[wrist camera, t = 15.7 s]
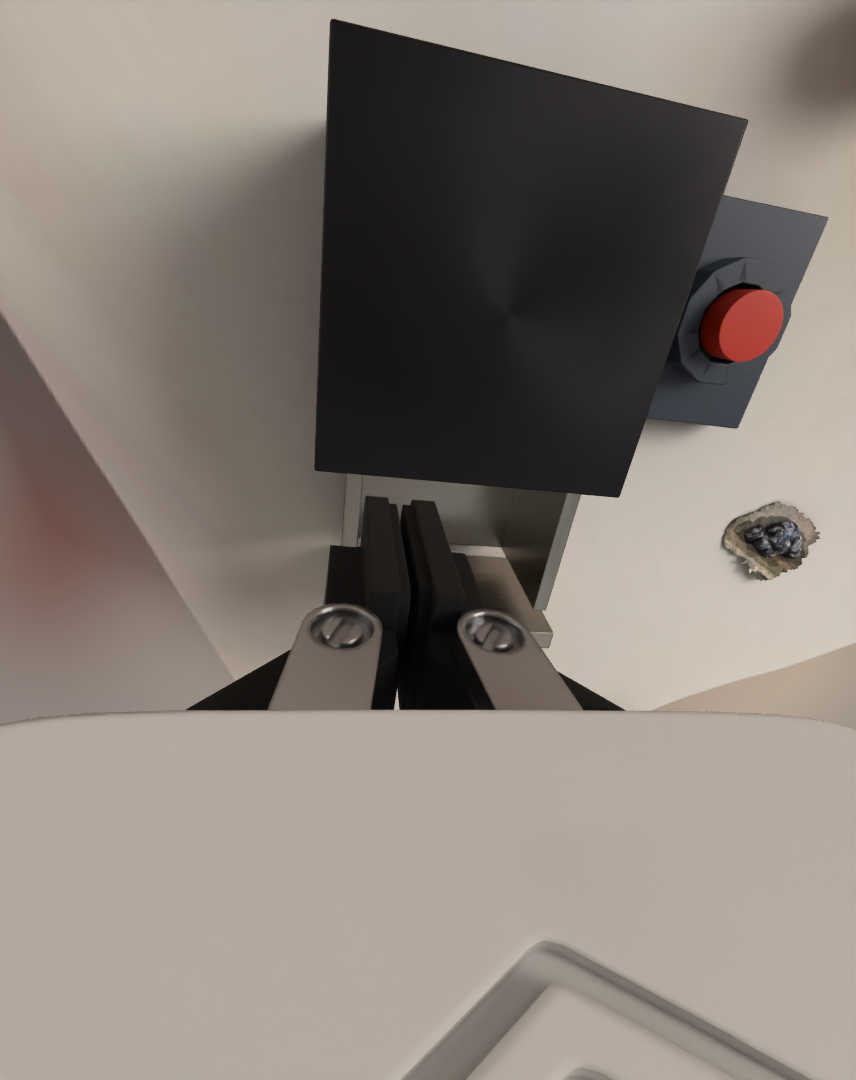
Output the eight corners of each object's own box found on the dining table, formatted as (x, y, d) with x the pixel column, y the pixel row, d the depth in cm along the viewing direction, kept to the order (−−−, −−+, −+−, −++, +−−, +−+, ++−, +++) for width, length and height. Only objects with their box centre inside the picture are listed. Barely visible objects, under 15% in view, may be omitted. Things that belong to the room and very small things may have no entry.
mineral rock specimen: (778, 582, 43) (795, 595, 41) (702, 566, 41) (717, 578, 39) (826, 514, 40) (847, 524, 38) (748, 492, 38) (765, 502, 36)
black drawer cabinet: (547, 436, 34) (619, 498, 24) (328, 412, 31) (314, 471, 22) (614, 173, 27) (750, 118, 18) (341, 116, 25) (329, 16, 15)
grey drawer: (494, 633, 40) (526, 719, 33) (325, 627, 38) (316, 718, 30) (556, 390, 31) (620, 428, 24) (340, 363, 29) (332, 395, 21)
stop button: (744, 361, 29) (765, 366, 28) (689, 353, 29) (708, 357, 27) (771, 294, 28) (795, 295, 26) (714, 284, 27) (736, 284, 25)
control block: (716, 420, 35) (756, 436, 31) (599, 406, 33) (627, 421, 30) (798, 221, 29) (858, 213, 26) (662, 192, 28) (706, 180, 24)
